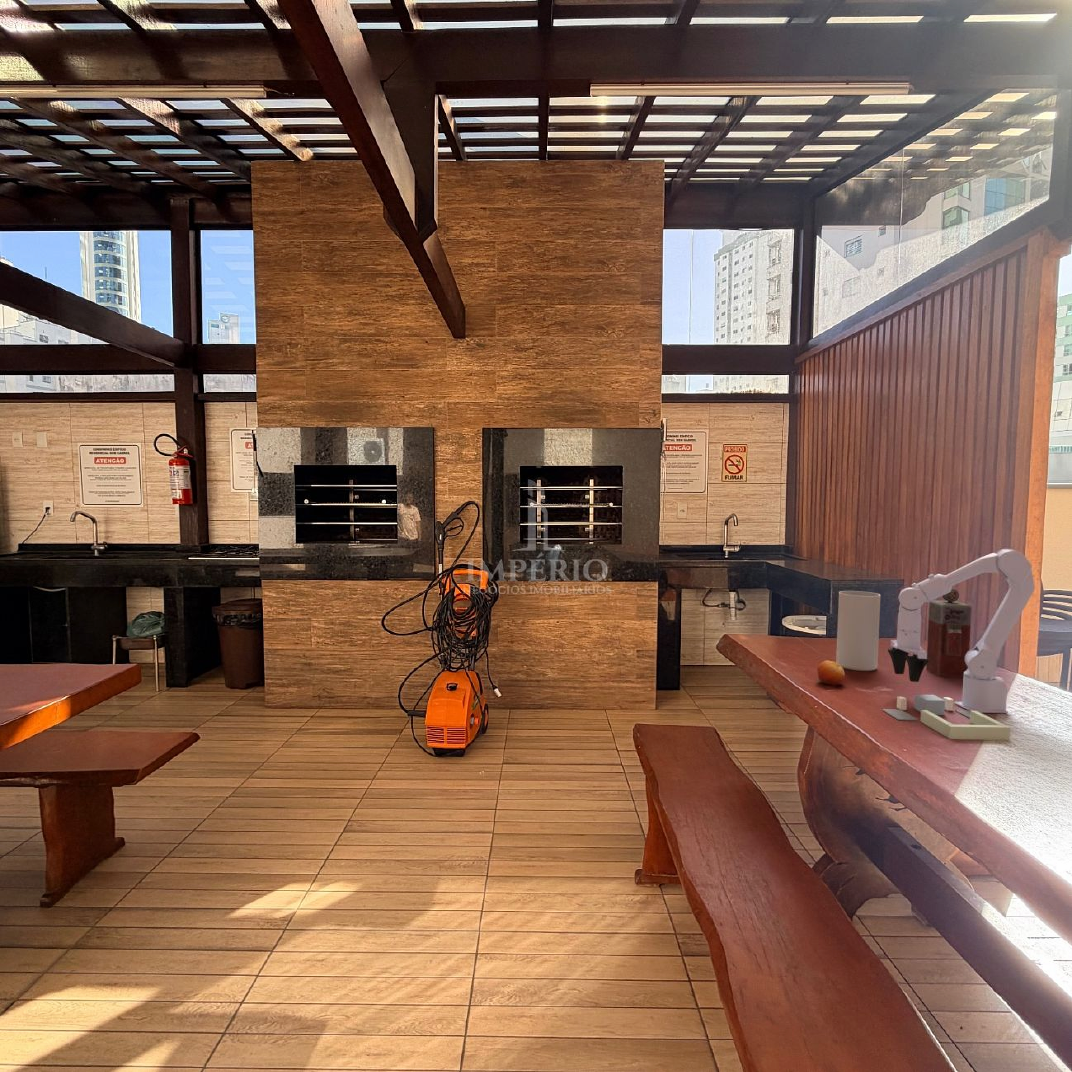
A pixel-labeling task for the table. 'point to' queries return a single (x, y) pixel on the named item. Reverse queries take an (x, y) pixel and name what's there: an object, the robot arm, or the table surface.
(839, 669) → the fruit
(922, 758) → the table surface
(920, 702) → the block
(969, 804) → the table surface
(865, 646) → the cylinder vase
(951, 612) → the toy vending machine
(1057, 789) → the table surface
